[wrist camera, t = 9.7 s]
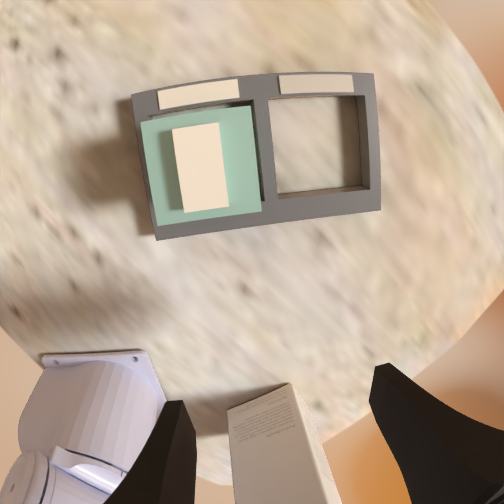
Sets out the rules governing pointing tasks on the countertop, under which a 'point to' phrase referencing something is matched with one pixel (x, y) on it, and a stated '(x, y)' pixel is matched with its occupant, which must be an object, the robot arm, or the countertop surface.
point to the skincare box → (278, 452)
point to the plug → (202, 165)
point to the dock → (259, 93)
